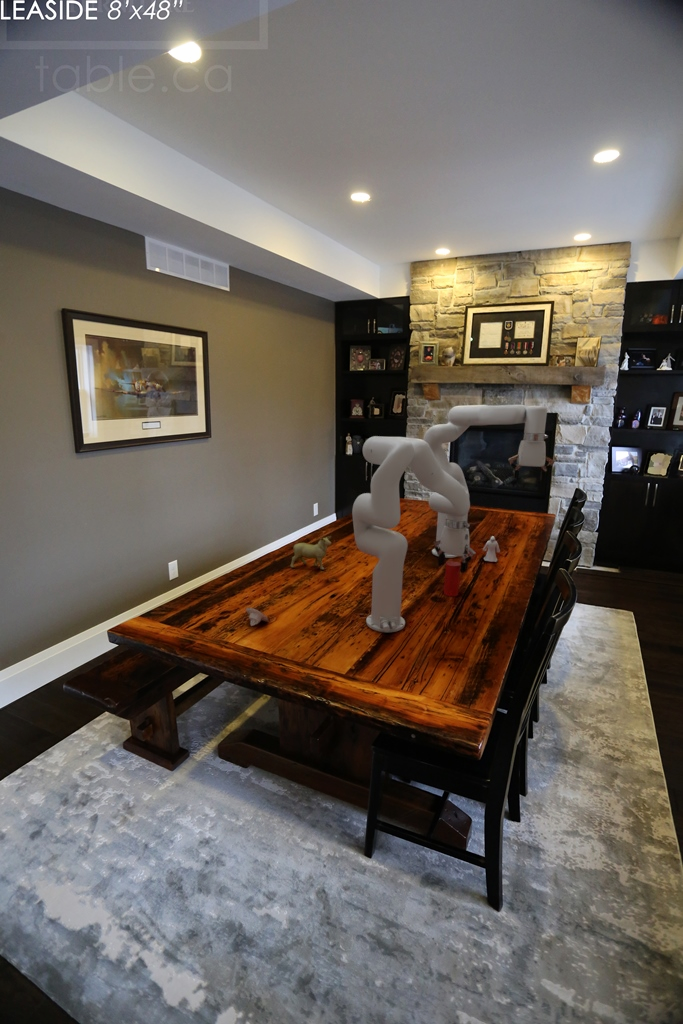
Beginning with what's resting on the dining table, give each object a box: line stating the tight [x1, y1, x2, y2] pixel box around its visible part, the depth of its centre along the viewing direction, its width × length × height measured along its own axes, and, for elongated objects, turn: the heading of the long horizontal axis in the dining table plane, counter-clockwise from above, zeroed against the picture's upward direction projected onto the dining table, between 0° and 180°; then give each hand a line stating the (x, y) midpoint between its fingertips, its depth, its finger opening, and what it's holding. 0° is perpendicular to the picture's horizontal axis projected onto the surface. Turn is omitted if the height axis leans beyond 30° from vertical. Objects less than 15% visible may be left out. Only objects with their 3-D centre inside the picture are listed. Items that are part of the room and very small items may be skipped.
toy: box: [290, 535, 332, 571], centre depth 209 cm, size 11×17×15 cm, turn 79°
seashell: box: [245, 607, 269, 627], centre depth 160 cm, size 8×5×8 cm
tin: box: [443, 560, 461, 597], centre depth 186 cm, size 5×5×12 cm
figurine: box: [482, 535, 501, 563], centre depth 223 cm, size 8×8×12 cm
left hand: (452, 568), depth 185 cm, fingers open, 9 cm apart
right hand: (528, 480), depth 202 cm, fingers open, 9 cm apart
